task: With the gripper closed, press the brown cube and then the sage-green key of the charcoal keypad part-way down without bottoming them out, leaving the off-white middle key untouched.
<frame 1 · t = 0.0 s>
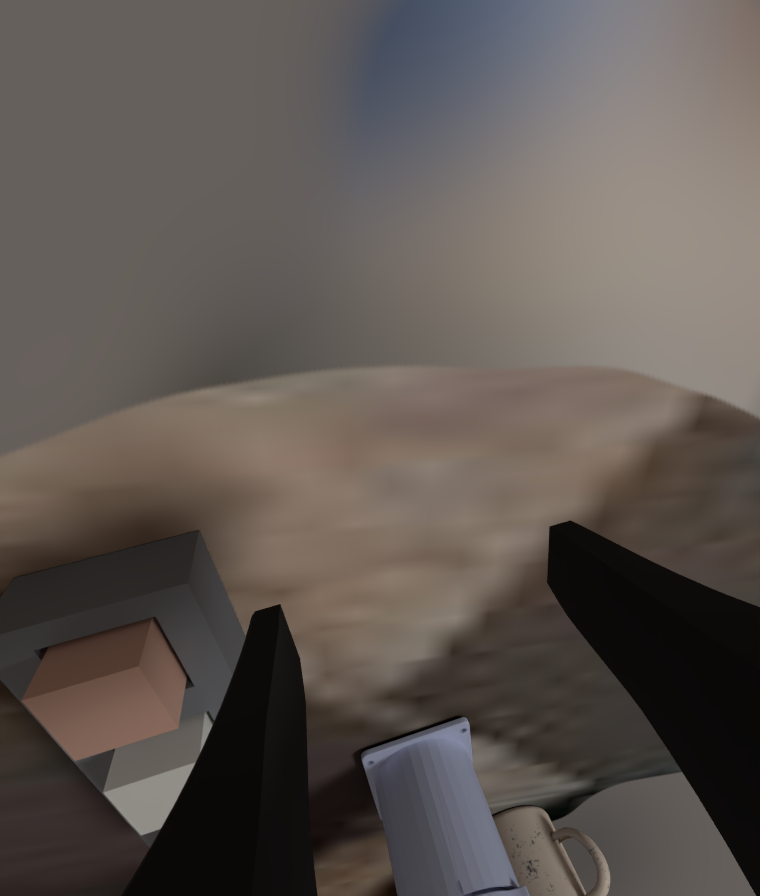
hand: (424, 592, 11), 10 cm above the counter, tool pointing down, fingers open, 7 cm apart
keypad: (187, 688, 25), on the counter
teacup with lid: (515, 819, 42), on the counter
brown cube: (118, 675, 18), point 4 cm above the counter, slide at 0.0 cm
white key: (175, 758, 21), point 4 cm above the counter, slide at 0.0 cm
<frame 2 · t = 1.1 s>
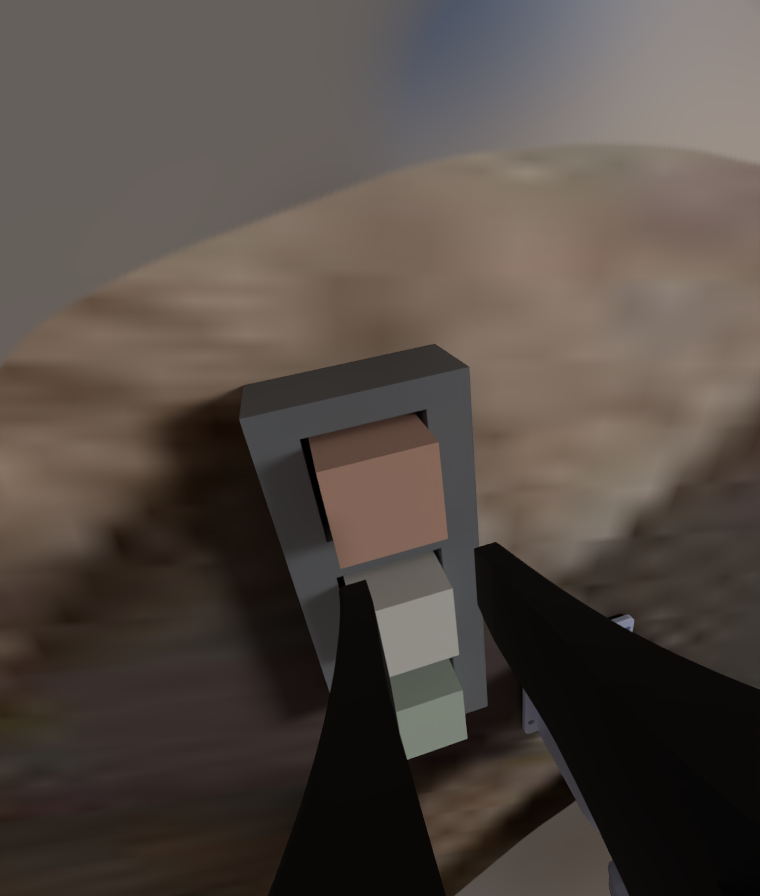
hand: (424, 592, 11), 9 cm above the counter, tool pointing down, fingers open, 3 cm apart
keypad: (378, 551, 23), on the counter
sage key: (414, 694, 22), point 4 cm above the counter, slide at 0.0 cm
brown cube: (375, 482, 16), point 4 cm above the counter, slide at 0.0 cm
white key: (398, 605, 19), point 4 cm above the counter, slide at 0.0 cm
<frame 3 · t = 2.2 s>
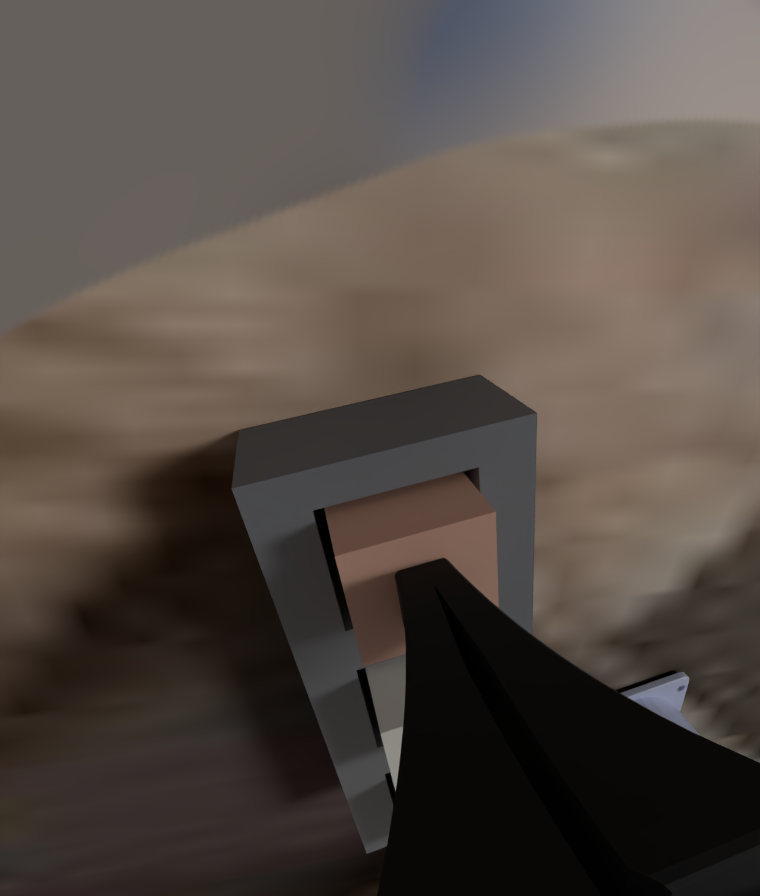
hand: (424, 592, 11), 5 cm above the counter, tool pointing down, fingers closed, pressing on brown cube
keypad: (402, 616, 19), on the counter
brown cube: (406, 550, 13), point 3 cm above the counter, slide at 0.4 cm, touching gripper
white key: (431, 697, 16), point 4 cm above the counter, slide at 0.0 cm
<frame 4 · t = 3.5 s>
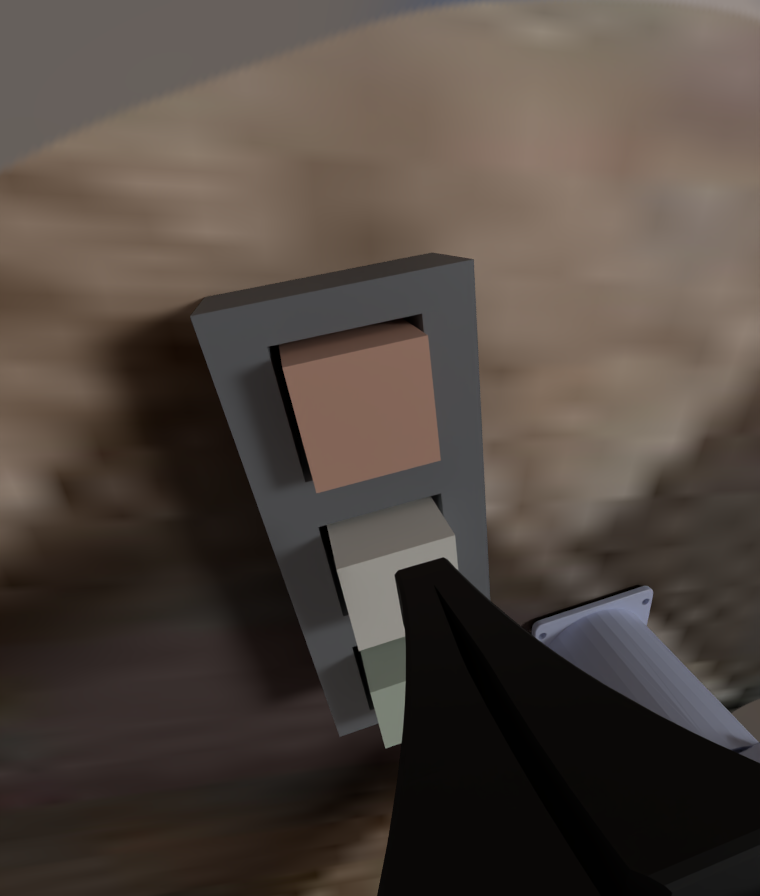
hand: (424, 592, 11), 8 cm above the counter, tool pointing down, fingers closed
keypad: (370, 507, 20), on the counter
sage key: (412, 669, 20), point 4 cm above the counter, slide at 0.0 cm
brown cube: (357, 397, 14), point 3 cm above the counter, slide at 0.7 cm
white key: (391, 562, 17), point 4 cm above the counter, slide at 0.0 cm
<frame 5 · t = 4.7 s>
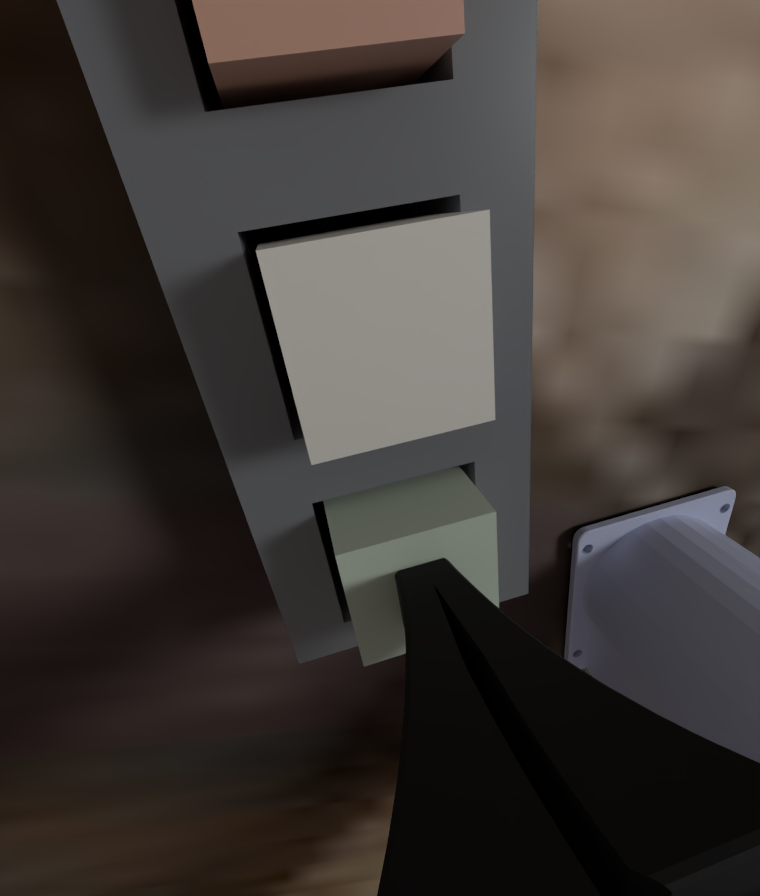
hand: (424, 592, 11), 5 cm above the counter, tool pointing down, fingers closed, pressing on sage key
keypad: (345, 303, 13), on the counter
sage key: (406, 550, 13), point 4 cm above the counter, slide at 0.1 cm, touching gripper
white key: (373, 329, 10), point 4 cm above the counter, slide at 0.0 cm
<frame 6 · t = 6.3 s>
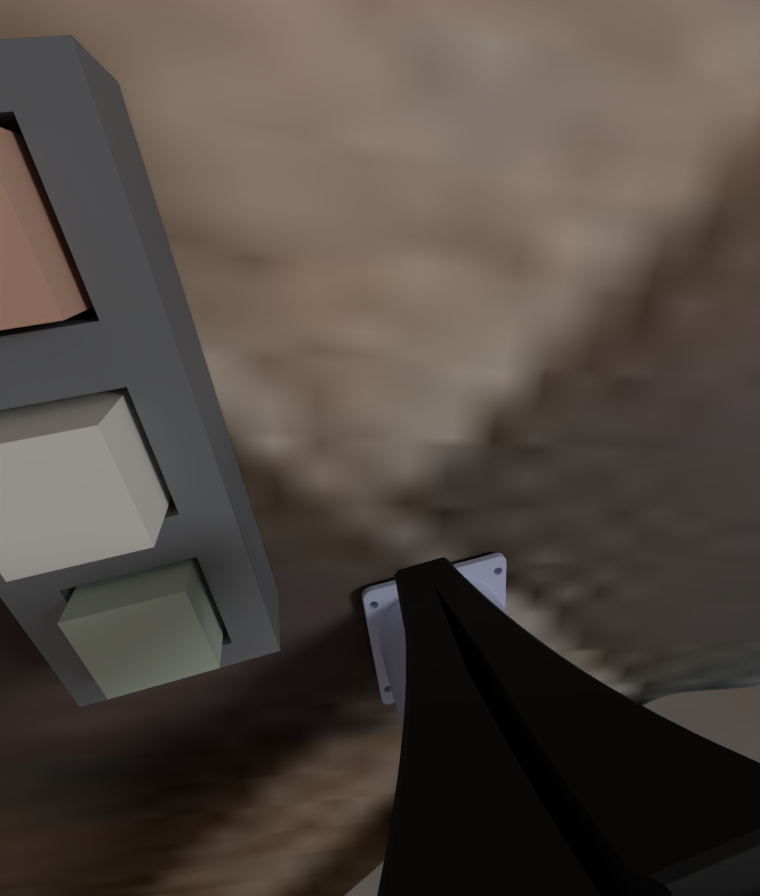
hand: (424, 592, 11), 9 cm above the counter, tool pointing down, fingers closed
keypad: (111, 427, 17), on the counter
sage key: (155, 609, 17), point 3 cm above the counter, slide at 0.7 cm
white key: (73, 475, 13), point 4 cm above the counter, slide at 0.0 cm
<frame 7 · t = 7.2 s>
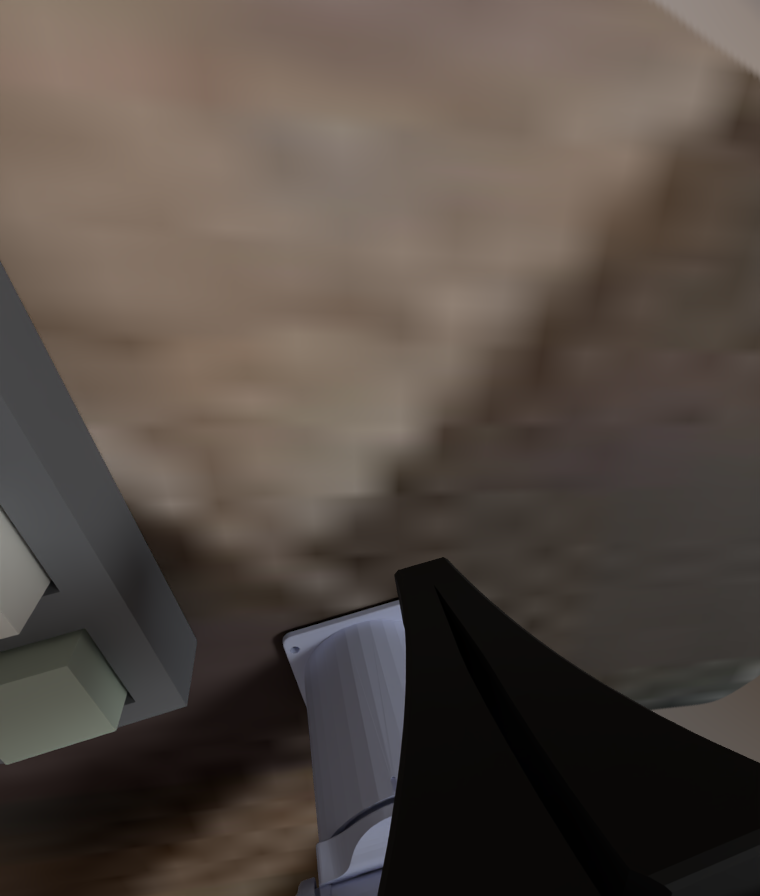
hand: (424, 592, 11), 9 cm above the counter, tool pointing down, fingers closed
keypad: (4, 501, 17), on the counter
sage key: (55, 675, 18), point 3 cm above the counter, slide at 0.7 cm
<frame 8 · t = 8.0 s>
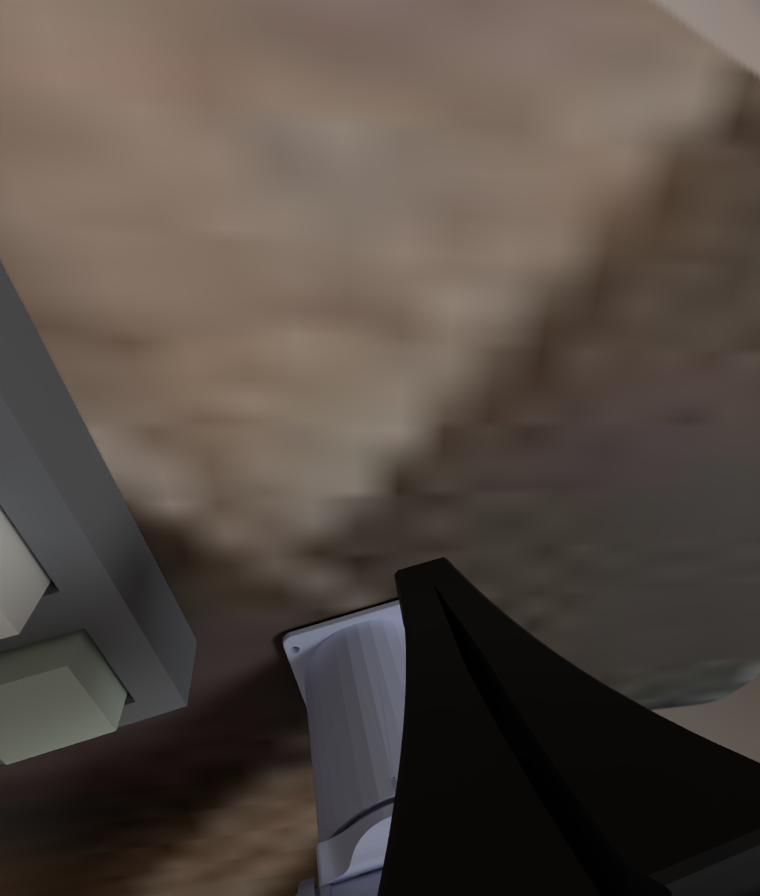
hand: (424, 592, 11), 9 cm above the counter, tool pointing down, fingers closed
keypad: (4, 501, 17), on the counter
sage key: (55, 675, 18), point 3 cm above the counter, slide at 0.7 cm
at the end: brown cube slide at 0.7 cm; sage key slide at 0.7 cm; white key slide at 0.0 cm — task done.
